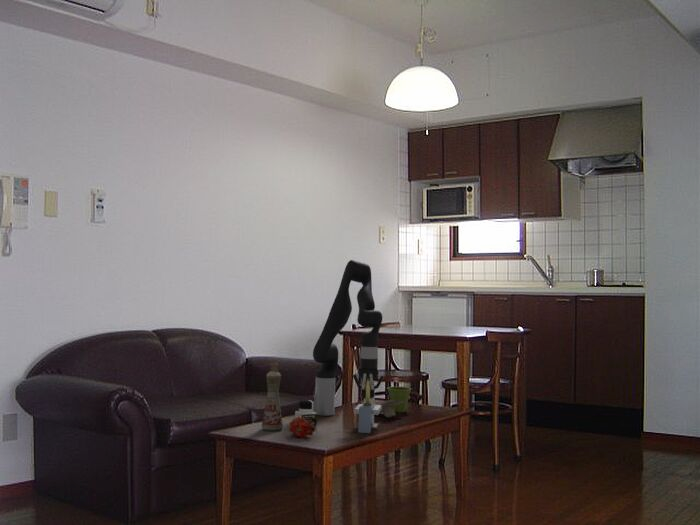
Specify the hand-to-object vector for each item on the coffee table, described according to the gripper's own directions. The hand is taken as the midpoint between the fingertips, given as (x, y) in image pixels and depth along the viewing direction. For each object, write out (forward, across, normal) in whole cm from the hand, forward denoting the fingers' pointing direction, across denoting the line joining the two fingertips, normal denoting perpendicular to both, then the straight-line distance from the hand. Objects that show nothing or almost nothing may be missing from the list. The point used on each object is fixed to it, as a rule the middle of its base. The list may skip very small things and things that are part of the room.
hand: (367, 398), depth 342 cm
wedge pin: (+4, 0, 0) cm, 4 cm away
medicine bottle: (+13, +25, +7) cm, 29 cm away
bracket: (+13, 0, +2) cm, 13 cm away
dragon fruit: (+13, +23, +24) cm, 36 cm away
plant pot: (+13, -9, -52) cm, 54 cm away
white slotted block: (+14, -3, -34) cm, 37 cm away
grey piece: (+13, 0, -3) cm, 14 cm away
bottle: (+13, +38, +12) cm, 42 cm away
